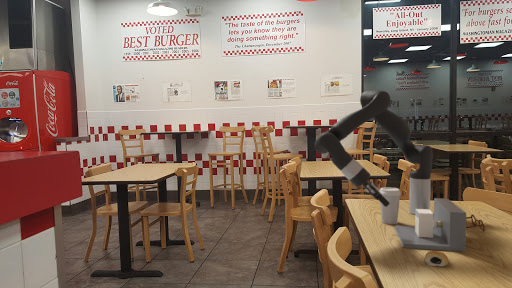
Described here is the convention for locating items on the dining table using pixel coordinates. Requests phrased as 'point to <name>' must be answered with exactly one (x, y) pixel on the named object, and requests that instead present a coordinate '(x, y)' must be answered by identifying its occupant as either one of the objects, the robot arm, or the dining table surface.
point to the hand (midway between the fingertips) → (387, 204)
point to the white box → (424, 223)
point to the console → (439, 229)
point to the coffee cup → (390, 205)
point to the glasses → (476, 223)
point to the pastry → (436, 259)
